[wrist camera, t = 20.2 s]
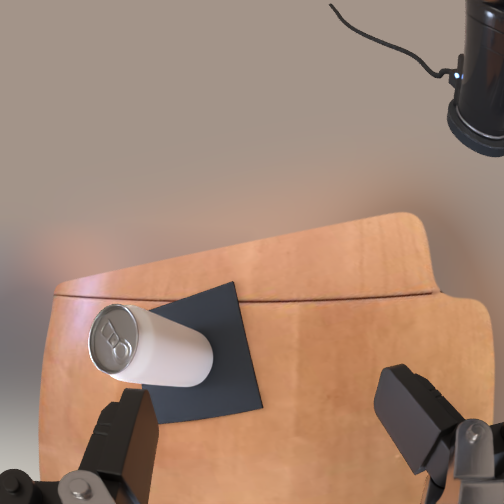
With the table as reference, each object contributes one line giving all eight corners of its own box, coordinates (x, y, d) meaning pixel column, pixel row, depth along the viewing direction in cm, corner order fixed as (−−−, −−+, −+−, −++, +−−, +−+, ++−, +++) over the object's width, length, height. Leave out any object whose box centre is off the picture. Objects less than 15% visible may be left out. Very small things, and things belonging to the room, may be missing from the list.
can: (190, 399, 28) (110, 396, 18) (155, 359, 31) (76, 339, 21) (226, 355, 29) (157, 335, 19) (187, 318, 32) (115, 283, 22)
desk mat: (135, 315, 35) (133, 315, 35) (233, 282, 33) (232, 281, 33) (149, 424, 28) (148, 424, 28) (263, 407, 26) (262, 408, 26)
